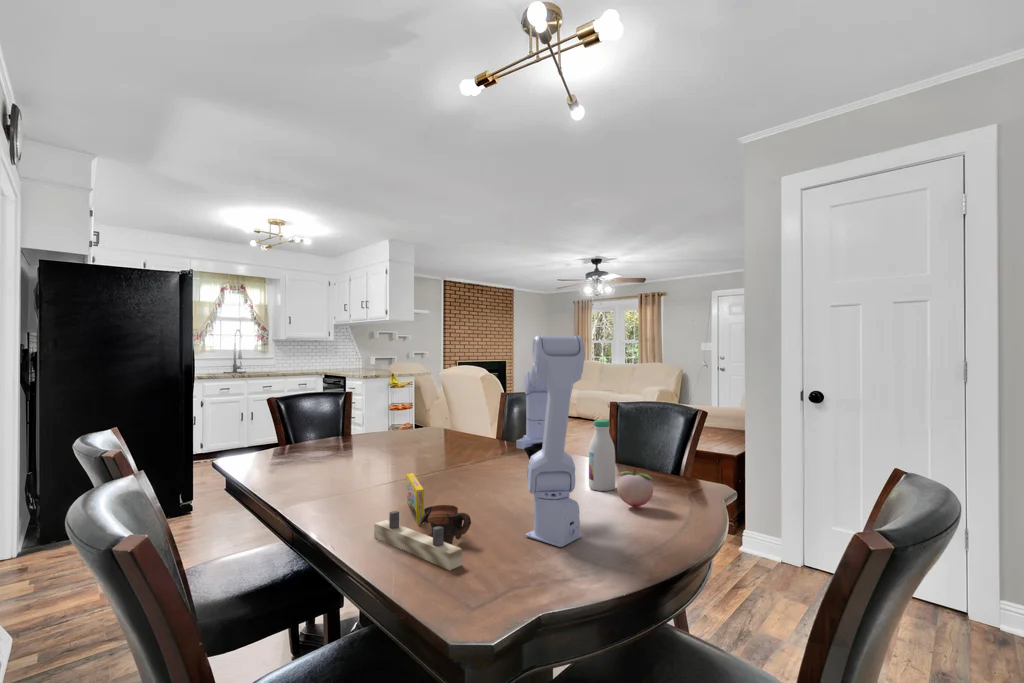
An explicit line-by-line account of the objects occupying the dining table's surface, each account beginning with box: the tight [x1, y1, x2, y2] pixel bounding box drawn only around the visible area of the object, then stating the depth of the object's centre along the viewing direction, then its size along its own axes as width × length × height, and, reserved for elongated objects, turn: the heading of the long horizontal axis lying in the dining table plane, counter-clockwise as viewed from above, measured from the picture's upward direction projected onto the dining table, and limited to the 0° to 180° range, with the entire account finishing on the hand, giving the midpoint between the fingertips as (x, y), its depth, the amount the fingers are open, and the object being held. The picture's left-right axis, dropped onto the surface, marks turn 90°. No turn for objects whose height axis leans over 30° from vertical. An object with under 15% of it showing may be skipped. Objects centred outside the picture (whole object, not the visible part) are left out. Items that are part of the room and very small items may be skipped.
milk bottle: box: [588, 419, 616, 492], centre depth 142 cm, size 8×8×20 cm
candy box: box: [405, 472, 426, 525], centre depth 118 cm, size 16×2×8 cm, turn 21°
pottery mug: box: [420, 504, 472, 545], centre depth 102 cm, size 12×10×8 cm
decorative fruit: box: [616, 468, 655, 509], centre depth 123 cm, size 9×8×10 cm
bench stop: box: [373, 510, 463, 571], centre depth 96 cm, size 24×3×6 cm, turn 49°
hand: (537, 473), depth 120 cm, fingers closed
